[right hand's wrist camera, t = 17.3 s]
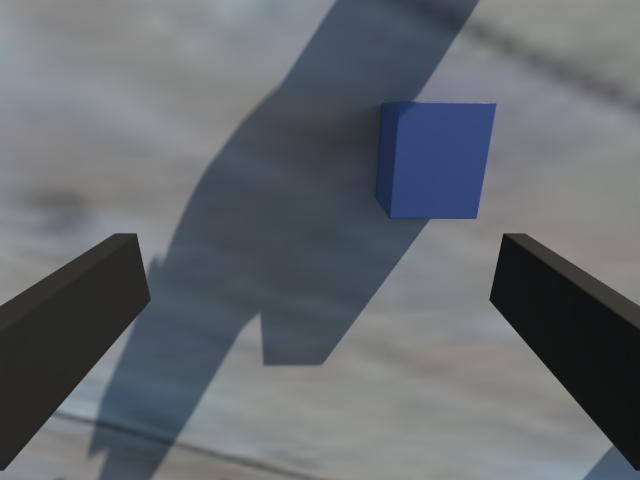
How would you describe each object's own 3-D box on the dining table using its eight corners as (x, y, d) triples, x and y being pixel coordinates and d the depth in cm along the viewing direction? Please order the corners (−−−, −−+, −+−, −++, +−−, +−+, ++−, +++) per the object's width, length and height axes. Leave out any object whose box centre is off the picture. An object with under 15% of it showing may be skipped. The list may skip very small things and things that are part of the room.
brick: (459, 104, 18) (497, 102, 14) (446, 198, 20) (476, 219, 16) (382, 103, 18) (399, 101, 14) (375, 197, 20) (389, 218, 16)
